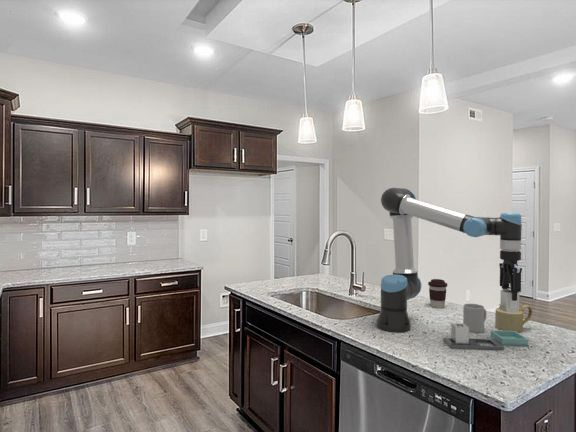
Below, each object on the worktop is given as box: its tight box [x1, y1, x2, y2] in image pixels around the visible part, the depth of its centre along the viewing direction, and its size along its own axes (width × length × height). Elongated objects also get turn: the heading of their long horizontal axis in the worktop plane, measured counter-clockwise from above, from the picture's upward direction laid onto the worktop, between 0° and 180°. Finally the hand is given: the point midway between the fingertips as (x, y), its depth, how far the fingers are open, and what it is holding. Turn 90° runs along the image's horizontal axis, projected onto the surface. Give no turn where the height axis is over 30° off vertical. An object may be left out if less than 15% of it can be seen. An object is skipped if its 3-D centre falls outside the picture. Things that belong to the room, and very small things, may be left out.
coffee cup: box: [427, 278, 448, 309], centre depth 213 cm, size 10×10×15 cm
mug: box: [462, 303, 487, 334], centre depth 174 cm, size 12×8×11 cm
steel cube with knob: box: [499, 289, 520, 312], centre depth 158 cm, size 5×5×8 cm
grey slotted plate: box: [442, 337, 505, 351], centre depth 154 cm, size 20×9×1 cm, turn 86°
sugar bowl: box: [494, 303, 533, 333], centre depth 176 cm, size 15×11×15 cm
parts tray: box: [489, 329, 529, 347], centre depth 159 cm, size 10×10×3 cm
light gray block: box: [450, 322, 470, 345], centre depth 154 cm, size 5×5×8 cm
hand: (509, 306), depth 158 cm, fingers closed on steel cube with knob, 5 cm apart
